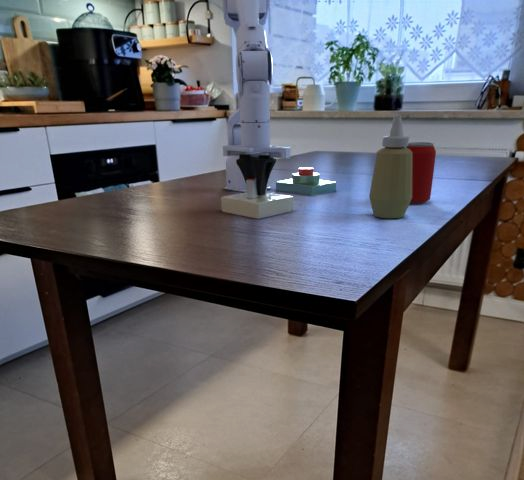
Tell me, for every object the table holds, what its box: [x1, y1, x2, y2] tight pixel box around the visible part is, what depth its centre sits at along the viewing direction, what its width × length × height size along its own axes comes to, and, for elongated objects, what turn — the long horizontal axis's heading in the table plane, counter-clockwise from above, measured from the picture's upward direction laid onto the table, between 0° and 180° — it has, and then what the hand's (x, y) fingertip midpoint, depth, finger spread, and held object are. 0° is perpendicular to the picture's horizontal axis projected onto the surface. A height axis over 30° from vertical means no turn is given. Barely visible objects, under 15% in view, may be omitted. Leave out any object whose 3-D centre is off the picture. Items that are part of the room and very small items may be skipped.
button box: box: [275, 172, 337, 197], centre depth 128 cm, size 12×9×4 cm
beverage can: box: [405, 141, 437, 205], centre depth 111 cm, size 7×7×12 cm
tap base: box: [220, 191, 294, 220], centre depth 106 cm, size 11×10×3 cm
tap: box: [245, 178, 268, 199], centre depth 105 cm, size 6×2×4 cm, turn 151°
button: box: [298, 166, 314, 175], centre depth 127 cm, size 4×4×2 cm
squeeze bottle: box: [368, 114, 413, 219], centre depth 97 cm, size 8×8×18 cm
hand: (256, 194), depth 106 cm, fingers closed on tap, 2 cm apart
